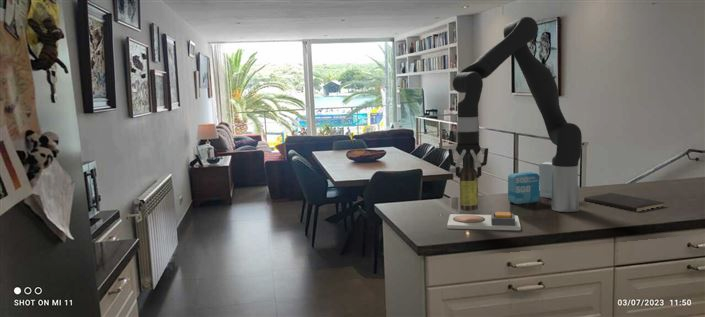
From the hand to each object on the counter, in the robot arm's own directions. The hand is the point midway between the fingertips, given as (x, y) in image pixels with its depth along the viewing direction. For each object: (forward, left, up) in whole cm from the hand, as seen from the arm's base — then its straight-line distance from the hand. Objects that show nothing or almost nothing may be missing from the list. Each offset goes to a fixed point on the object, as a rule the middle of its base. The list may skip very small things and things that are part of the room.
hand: (468, 177), depth 182 cm
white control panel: (-5, +1, -16) cm, 17 cm away
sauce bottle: (0, 0, -12) cm, 12 cm away
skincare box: (-33, -47, -16) cm, 60 cm away
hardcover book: (-58, -35, -17) cm, 70 cm away
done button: (-12, +4, -14) cm, 19 cm away
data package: (-21, -36, -16) cm, 45 cm away
